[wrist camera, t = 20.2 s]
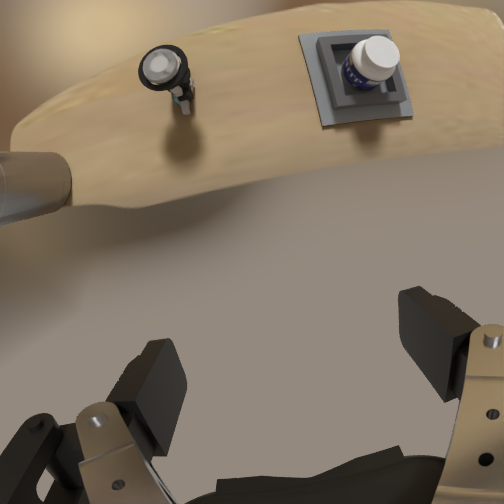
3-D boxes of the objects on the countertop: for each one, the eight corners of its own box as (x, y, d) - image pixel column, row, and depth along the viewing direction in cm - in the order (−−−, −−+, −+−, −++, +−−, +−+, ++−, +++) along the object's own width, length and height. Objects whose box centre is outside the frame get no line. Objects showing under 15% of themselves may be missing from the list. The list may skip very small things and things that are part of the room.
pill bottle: (334, 60, 34) (350, 34, 26) (368, 52, 34) (391, 26, 25) (350, 96, 35) (372, 77, 27) (385, 87, 35) (413, 68, 26)
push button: (208, 110, 37) (190, 91, 27) (168, 120, 37) (139, 106, 28) (200, 64, 35) (181, 35, 26) (161, 75, 36) (132, 50, 26)
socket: (322, 126, 37) (326, 122, 34) (298, 36, 34) (300, 27, 31) (412, 116, 36) (422, 112, 33) (387, 31, 33) (394, 23, 30)
